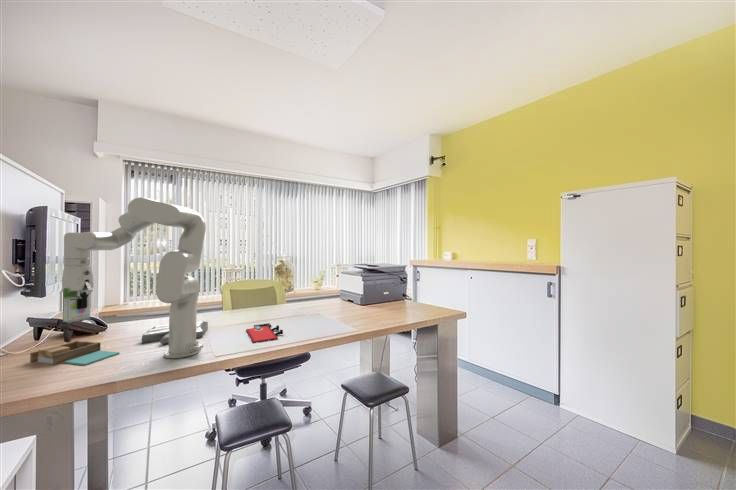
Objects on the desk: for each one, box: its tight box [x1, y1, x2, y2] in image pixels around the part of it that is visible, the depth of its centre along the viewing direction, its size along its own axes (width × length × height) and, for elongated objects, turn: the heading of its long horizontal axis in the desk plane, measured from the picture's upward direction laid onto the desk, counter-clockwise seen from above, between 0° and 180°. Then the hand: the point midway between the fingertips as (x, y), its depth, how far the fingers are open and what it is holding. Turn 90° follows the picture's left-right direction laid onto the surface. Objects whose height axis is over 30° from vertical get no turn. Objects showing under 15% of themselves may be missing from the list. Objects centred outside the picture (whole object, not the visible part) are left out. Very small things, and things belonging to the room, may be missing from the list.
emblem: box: [141, 320, 209, 345], centre depth 142 cm, size 28×5×28 cm
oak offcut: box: [38, 345, 70, 359], centre depth 110 cm, size 8×5×2 cm
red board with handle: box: [245, 322, 284, 344], centre depth 149 cm, size 30×3×15 cm
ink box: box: [62, 288, 91, 324], centre depth 117 cm, size 7×4×13 cm, turn 161°
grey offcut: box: [37, 356, 53, 365], centre depth 110 cm, size 8×6×2 cm
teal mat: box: [63, 350, 120, 367], centre depth 112 cm, size 10×12×1 cm
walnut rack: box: [29, 340, 101, 366], centre depth 114 cm, size 12×15×4 cm
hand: (76, 307), depth 117 cm, fingers closed on ink box, 4 cm apart
